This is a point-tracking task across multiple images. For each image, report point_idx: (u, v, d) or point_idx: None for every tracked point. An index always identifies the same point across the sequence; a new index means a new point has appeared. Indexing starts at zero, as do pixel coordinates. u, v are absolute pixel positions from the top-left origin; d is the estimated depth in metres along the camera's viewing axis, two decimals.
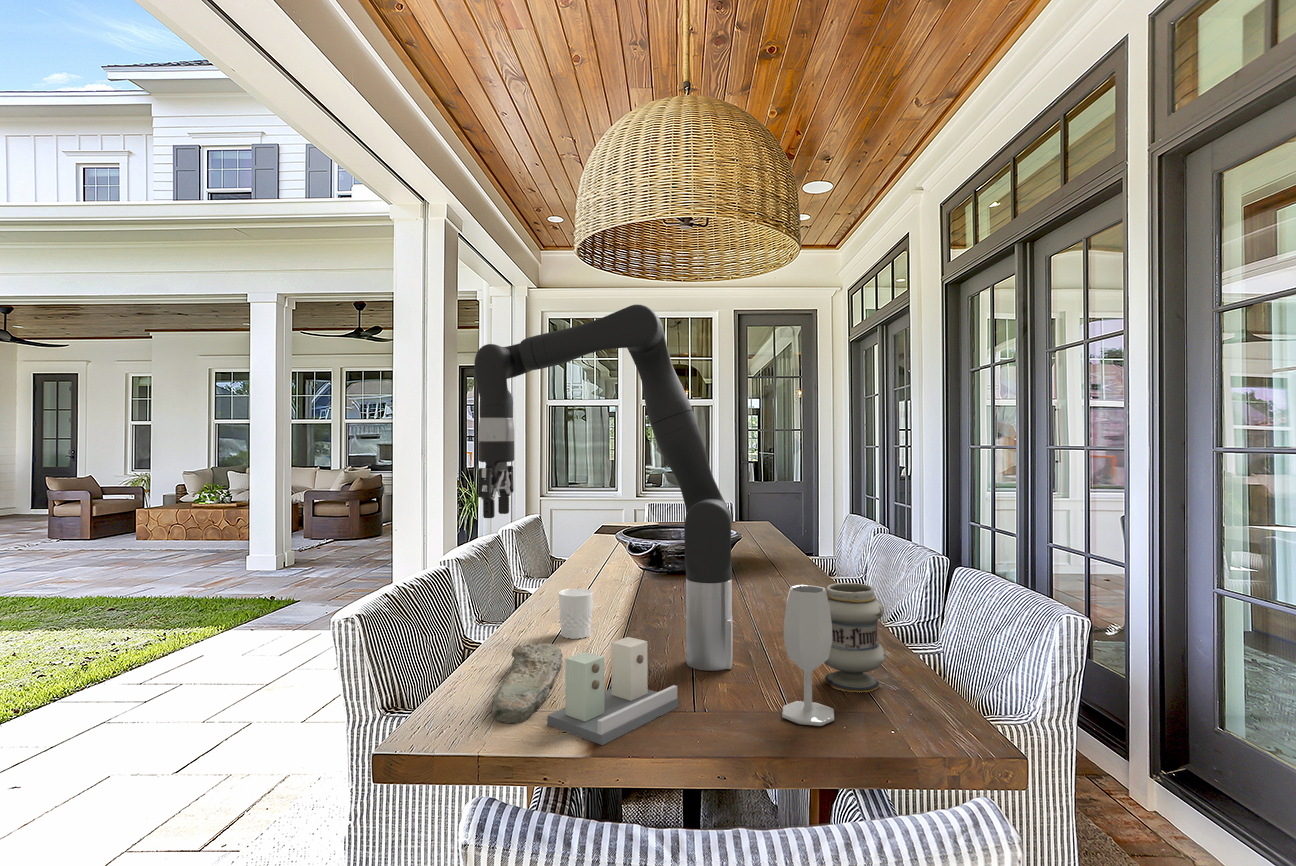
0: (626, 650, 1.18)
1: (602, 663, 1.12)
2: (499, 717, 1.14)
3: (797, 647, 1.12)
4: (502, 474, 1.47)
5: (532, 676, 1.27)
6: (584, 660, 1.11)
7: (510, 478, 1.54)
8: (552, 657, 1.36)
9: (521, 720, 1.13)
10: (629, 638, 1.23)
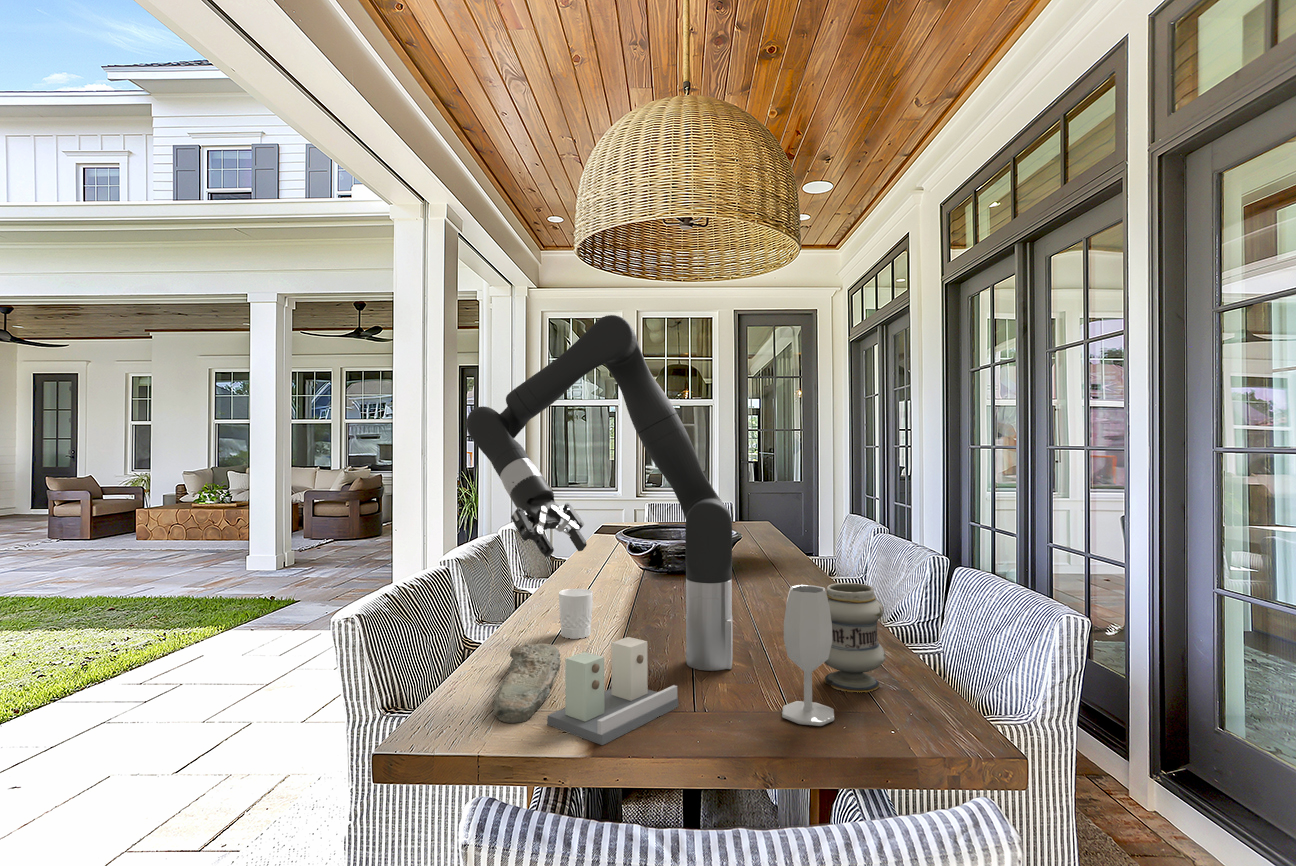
0: (626, 650, 1.18)
1: (602, 663, 1.12)
2: (501, 717, 1.14)
3: (797, 647, 1.12)
4: (543, 509, 1.33)
5: (532, 676, 1.27)
6: (584, 660, 1.11)
7: (571, 514, 1.38)
8: (550, 657, 1.36)
9: (523, 720, 1.13)
10: (629, 638, 1.23)
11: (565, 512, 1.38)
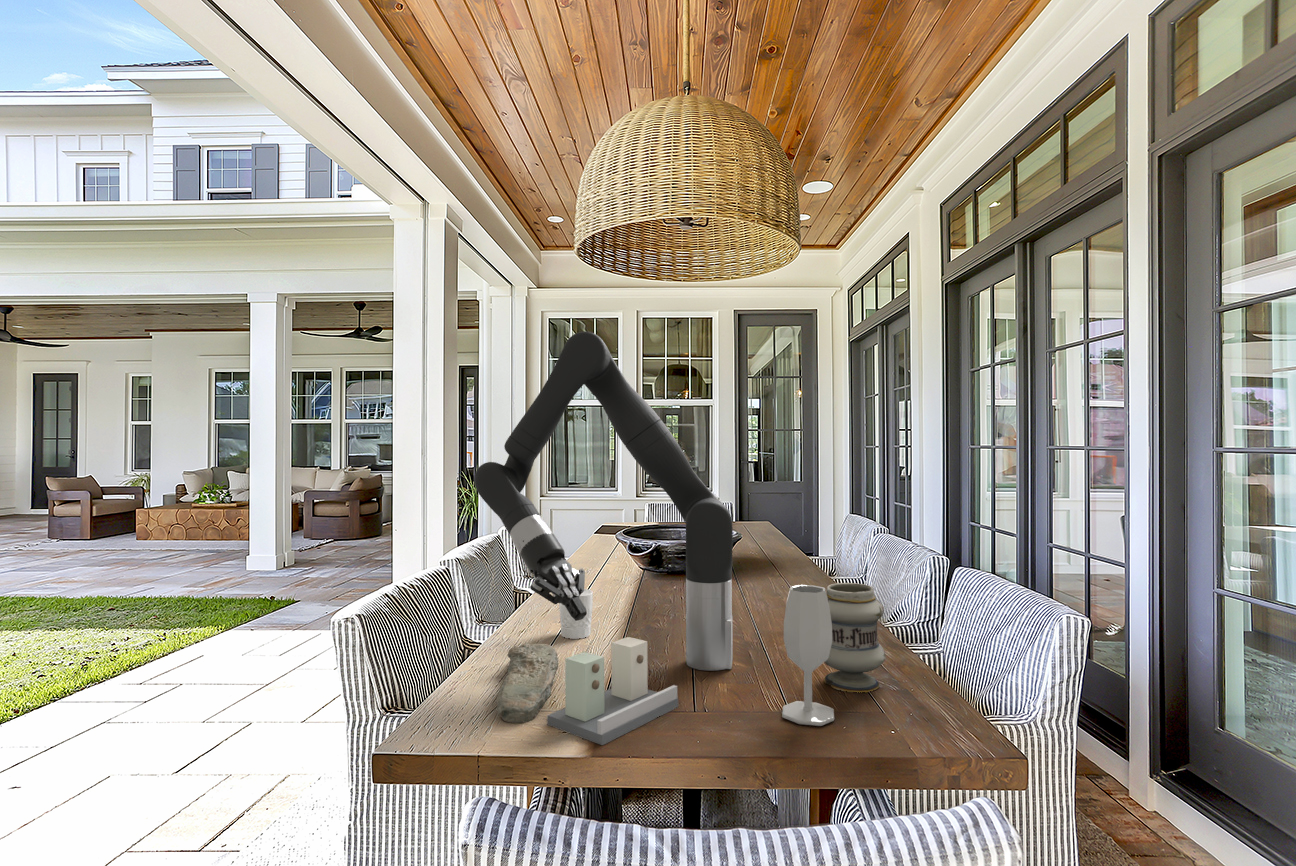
0: (626, 650, 1.18)
1: (602, 663, 1.12)
2: (505, 717, 1.14)
3: (797, 647, 1.12)
4: (555, 569, 1.31)
5: (532, 676, 1.27)
6: (584, 660, 1.11)
7: (578, 578, 1.34)
8: (549, 657, 1.36)
9: (527, 720, 1.13)
10: (629, 638, 1.23)
11: (574, 575, 1.35)
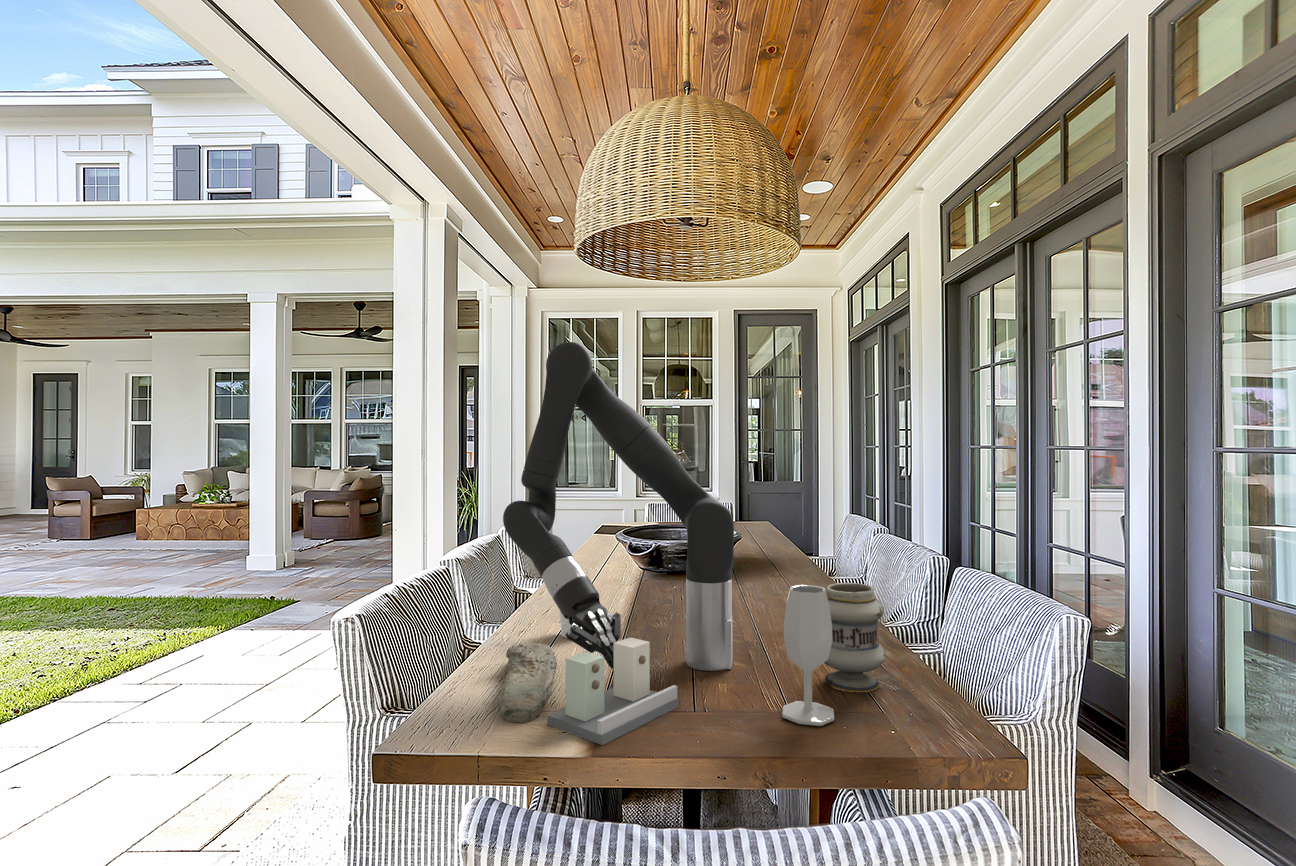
0: (628, 651, 1.18)
1: (602, 663, 1.12)
2: (508, 717, 1.14)
3: (797, 647, 1.12)
4: (590, 615, 1.25)
5: (532, 675, 1.28)
6: (584, 660, 1.11)
7: (614, 623, 1.28)
8: (547, 656, 1.37)
9: (531, 719, 1.14)
10: (631, 638, 1.23)
11: (610, 620, 1.29)
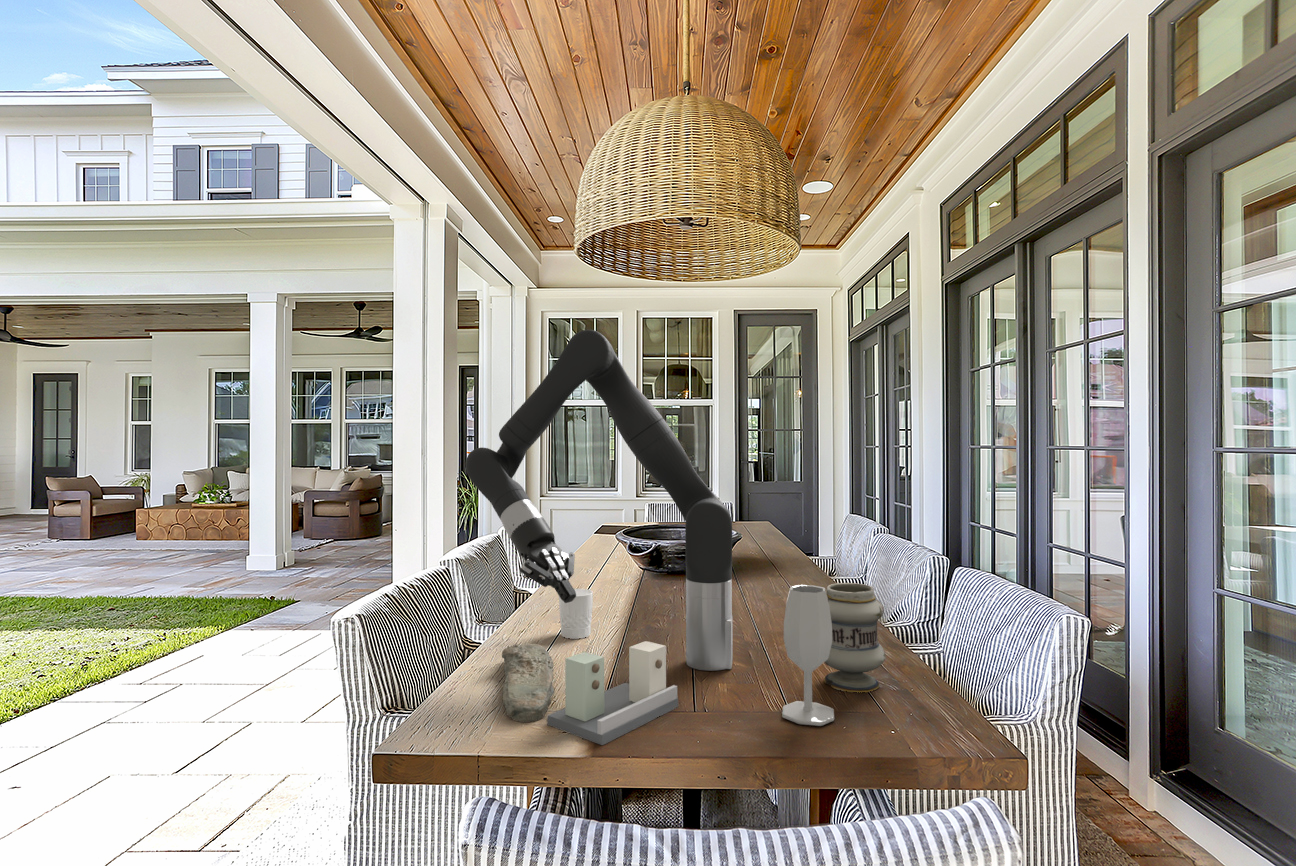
0: (645, 655, 1.16)
1: (602, 663, 1.12)
2: (516, 717, 1.14)
3: (797, 647, 1.12)
4: (544, 552, 1.32)
5: (532, 675, 1.28)
6: (584, 660, 1.11)
7: (568, 562, 1.36)
8: (544, 656, 1.37)
9: (538, 718, 1.14)
10: (647, 642, 1.20)
11: (564, 559, 1.37)
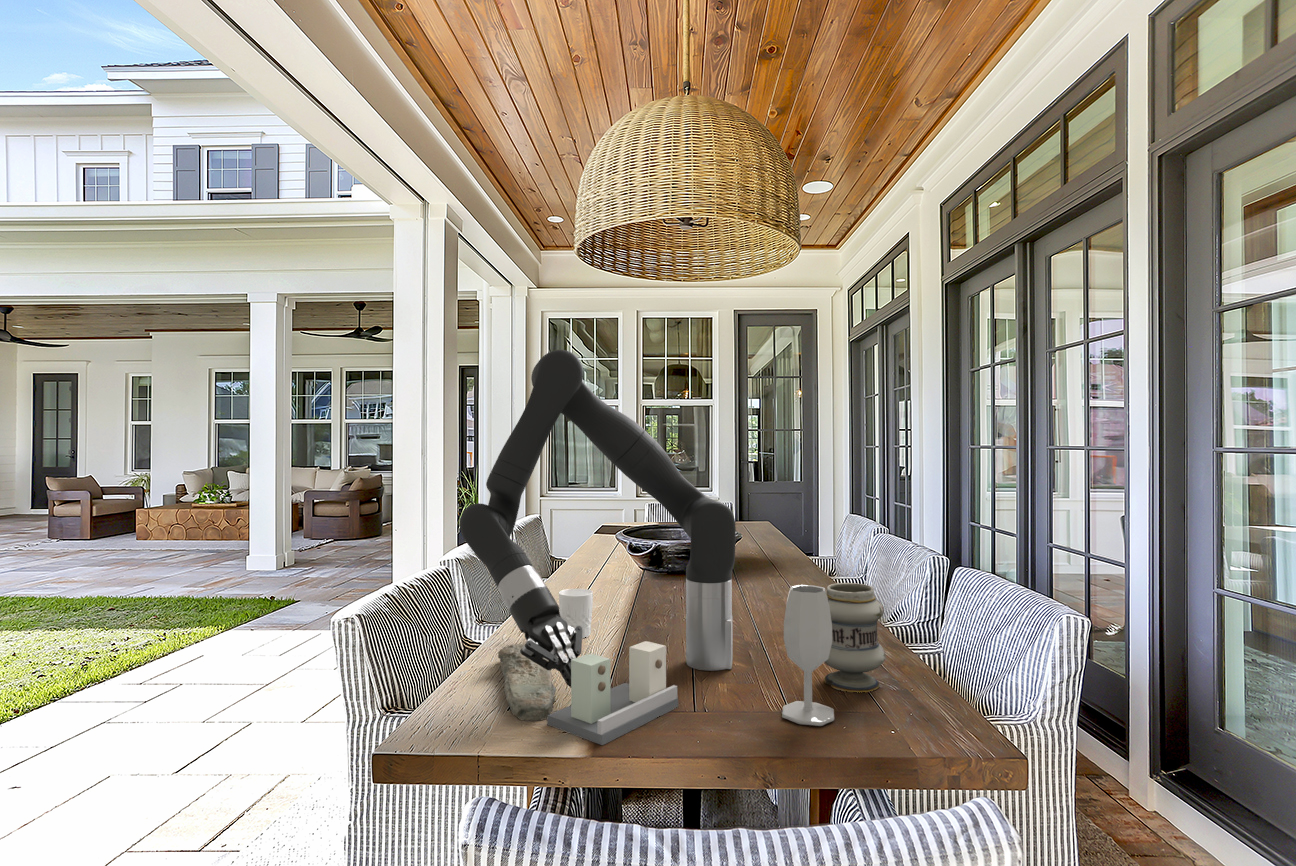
0: (645, 655, 1.16)
1: (608, 665, 1.12)
2: (522, 716, 1.14)
3: (797, 647, 1.12)
4: (548, 630, 1.16)
5: (532, 675, 1.28)
6: (590, 662, 1.10)
7: (575, 638, 1.19)
8: None
9: (545, 717, 1.15)
10: (647, 642, 1.20)
11: (570, 634, 1.20)
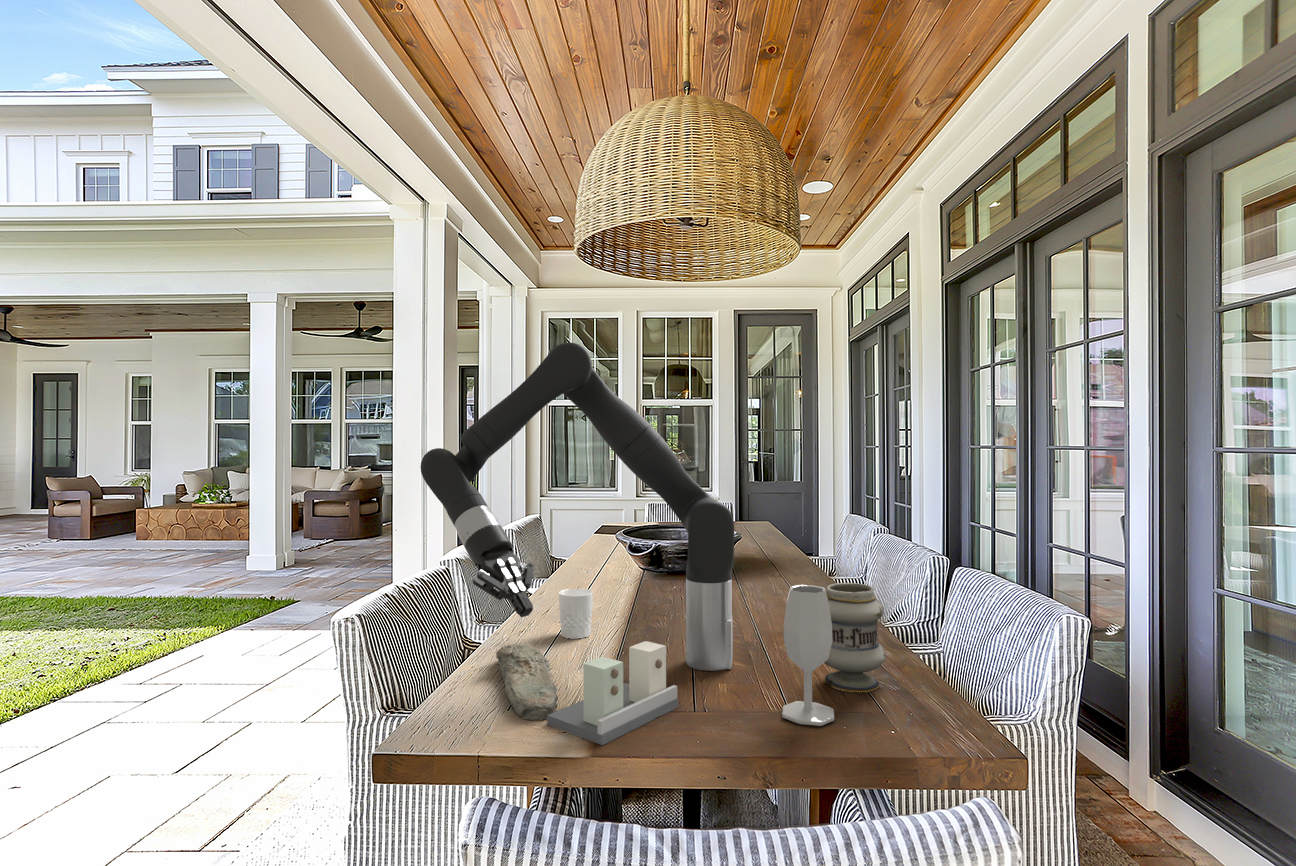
0: (645, 655, 1.16)
1: (621, 668, 1.10)
2: (527, 716, 1.14)
3: (797, 647, 1.12)
4: (500, 563, 1.23)
5: (533, 674, 1.28)
6: (603, 666, 1.08)
7: (526, 572, 1.27)
8: (538, 655, 1.37)
9: None
10: (647, 642, 1.20)
11: (522, 569, 1.28)
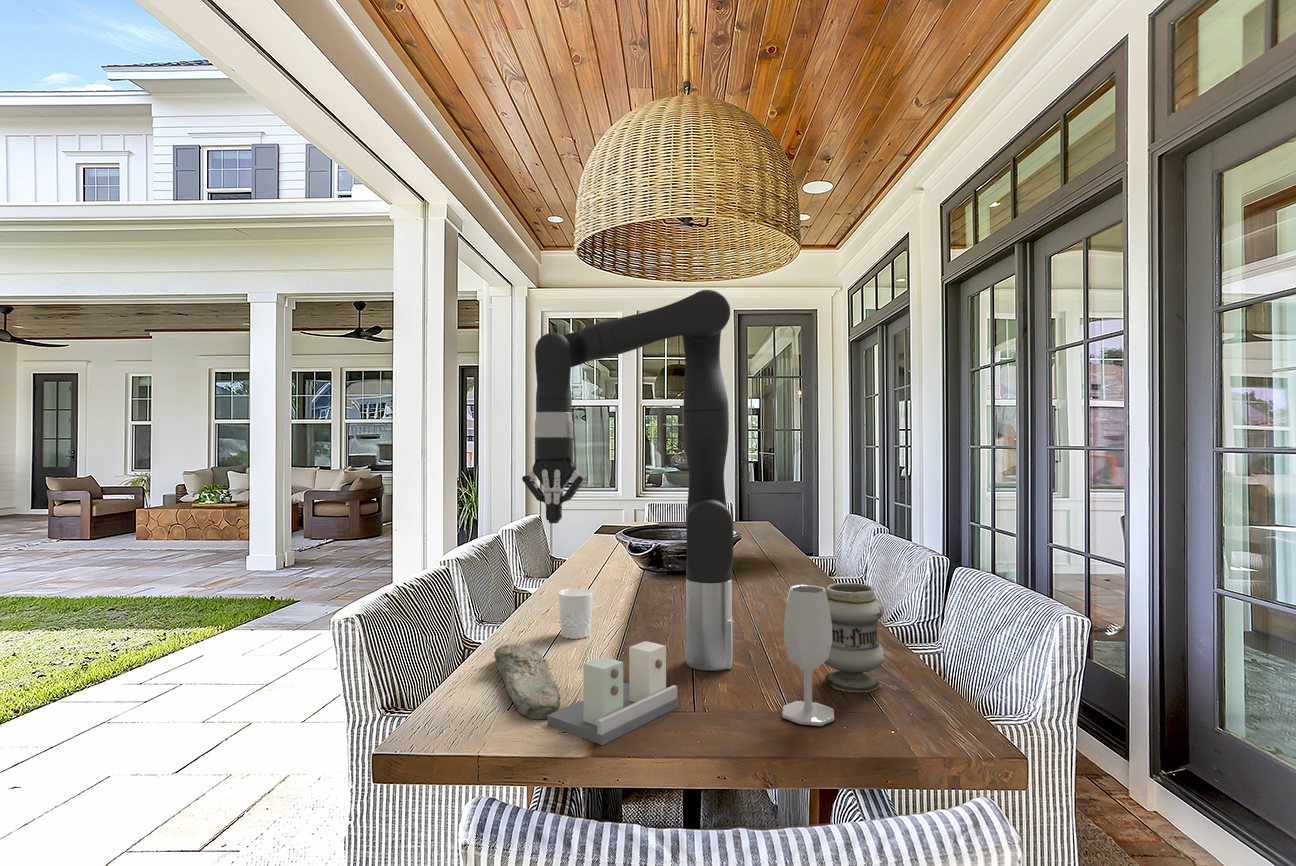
0: (645, 655, 1.16)
1: (621, 668, 1.10)
2: (531, 715, 1.14)
3: (797, 647, 1.12)
4: (544, 473, 1.37)
5: (533, 674, 1.28)
6: (603, 666, 1.08)
7: None
8: (536, 655, 1.37)
9: None
10: (647, 642, 1.20)
11: (572, 479, 1.38)
